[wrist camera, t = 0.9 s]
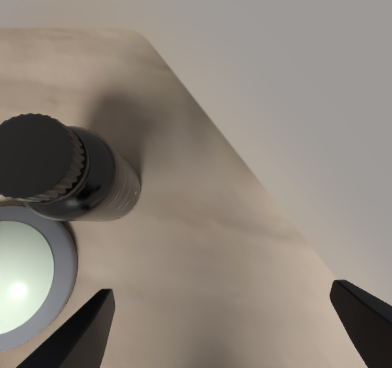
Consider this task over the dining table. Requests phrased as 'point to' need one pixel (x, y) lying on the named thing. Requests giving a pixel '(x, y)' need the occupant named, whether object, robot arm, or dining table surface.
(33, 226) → the plate
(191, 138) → the dining table surface
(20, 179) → the supplement bottle
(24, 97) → the dining table surface
